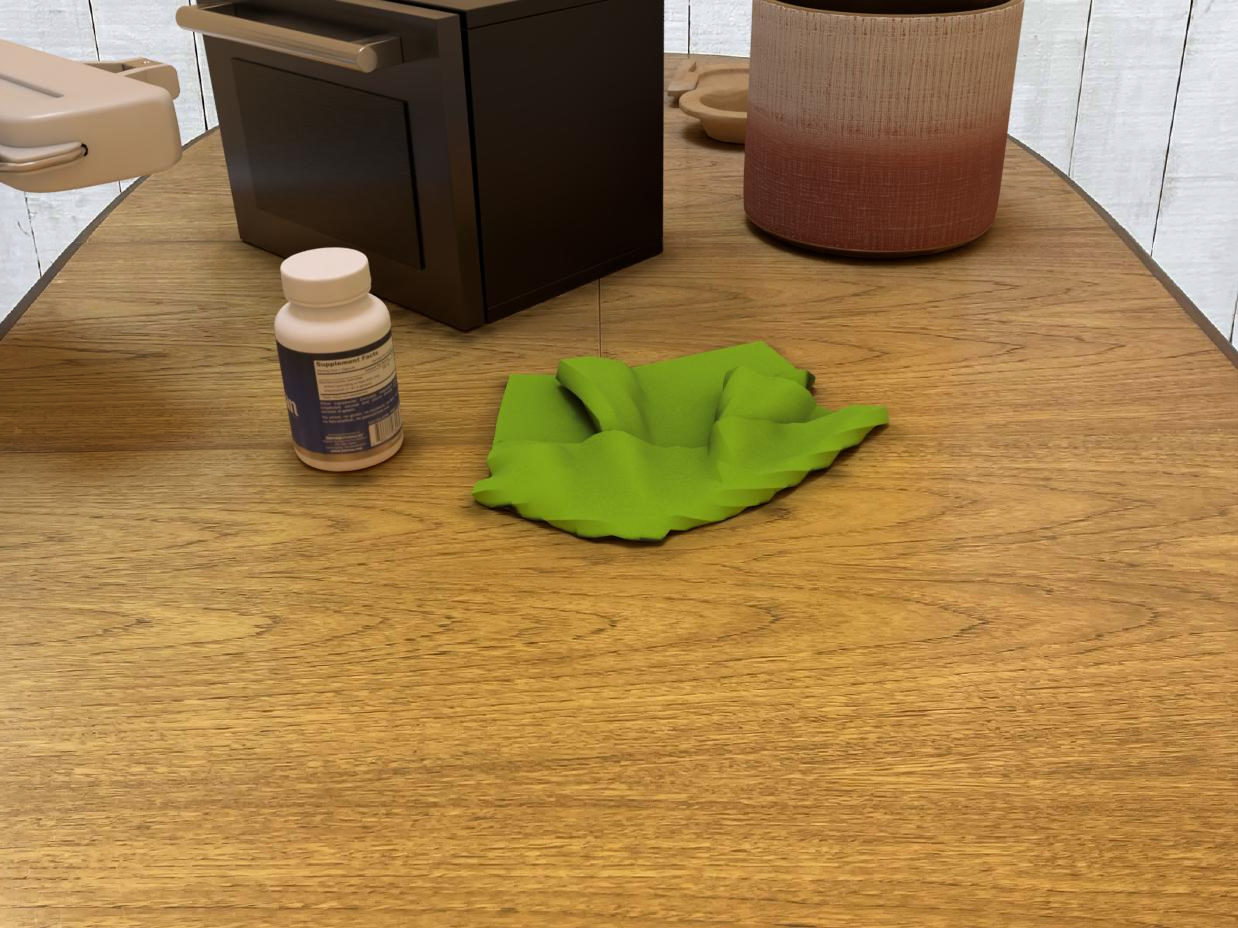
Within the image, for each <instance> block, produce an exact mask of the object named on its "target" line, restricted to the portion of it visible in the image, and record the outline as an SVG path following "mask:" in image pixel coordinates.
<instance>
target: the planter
mask: <svg viewBox="0 0 1238 928" xmlns="http://www.w3.org/2000/svg"><path fill="white" fill-rule="evenodd" d="M1025 3H1026V2H1025V0H752V2H751V22H750V25H751V26H750V27H751V28H750V46H749V47H750V48H749V49H750V50H749V63H750V66H749V85H748V104H747V121H746V138H745V144H744V161H743V181H742V182H743V183H742V184H743V187H742V191H743V193H742V197H743V198H742V199H743V200H742V201H743V210H744V213H745V215H746V216H747V218H748V219H749V220H750V221H751V222H752V223H753V225H755V226H756V227H758V229H760V230H761V231H762V232H764V233H765V234H768V235H769V236H771V237H773V238H775V239H777V240H780V241H782V242H784V243H786V244H789V245H791V246H795V247H797V248H802V249H805V250H809V251H814V252H817V253H822V254H828V255H835V256H842V257H851V258H862V259H864V258H866V259H900V258H901V259H902V258H910V257H919V256H921V257H922V256H929V255H934V254H938V253H942V252H946V251H949V250H953V249H956V248H959V247H962V246H964V245H966V244H968V243H970V242H972V241H974V240H976V239H978V238H979V237H980V236H982V235H983V234H985V233H986V232H988V230H989V229H990V228H991V227H992V226H993V224H994V222H995V219H996V215H997V210H998V207H999V200H1000V194H1001V186H1002V180H1003V171H1004V165H1005V157H1006V148H1007V140H1008V132H1009V123H1010V116H1011V107H1012V100H1013V94H1014V93H1013V92H1014V85H1015V76H1016V69H1017V61H1018V55H1019V47H1020V39H1021V31H1022V25H1023V17H1024V12H1025V11H1024V10H1025Z"/></svg>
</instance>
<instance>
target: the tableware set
mask: <svg viewBox="0 0 1238 928" xmlns="http://www.w3.org/2000/svg"><path fill="white" fill-rule="evenodd" d="M749 66H750V62H727V63H726V62H725V63H716V64H706V65H700V66H697V60H696V59H693V58H686V59H682V60H681V62H680V64H679V65H678V68H677V69H676V71H675V73H674V74H673V75H674V76H673V77H672V79H671V81H670V84H669V85H668V87H667V91H666V92H667V93H666V94H667V97H675V98H676V97H679V98H678V107H679V109H680V111H681V112H682V113H684V115H687V116H689V117H692V118H694V119H698V120H699V121H700V124H701V126H702V127H703V130H704V131H705V133H706V135H707V136H708V137H709V138H711V139H713V140H717V141H719V142H724V143H731V144H739V145H740V144H741V145H742V144H744V145H745V138H746V121H747V104H748V85H749Z"/></svg>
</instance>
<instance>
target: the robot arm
mask: <svg viewBox="0 0 1238 928" xmlns="http://www.w3.org/2000/svg"><path fill="white" fill-rule="evenodd" d="M180 93H181V87H180V82H179V76H178V70H177V69H176V67H174V66H173V65H172V64H169V63H164V62H160V61H157V60H152V59H150V58H146V57H143V56H137V57H132V58H126V59H121V60H72V59H69V58H67V57H66V58H65V57H63V56H58V55H55V54H52V53H49V52H45V51H42V50H38V49H36V48H32V47H29V46H26V45H22V44H19V43H15V42H13V41H9V40H6V39H3V38H0V183H1V184H3V185H5V186H7V187H10V188H12V189H14V190H17V191H20V192H24V193H31V194H45V193H46V194H50V193H59V192H66V191H74V190H79V189H80V190H81V189H86V188H91V187H95V186H96V187H97V186H101V185H105V184H110V183H111V184H112V183H117V182H122V181H126V180H132V179H137V178H140V177H146V176H150V175H155V174H160V173H163V172H165V171H169V169H171V168H173V167H175V166H176V165H177V164H178V163H179V162H181V160H182V158H183V153H184V151H183V145H182V139H181V133H180V125H179V121H178V116H177V111H176V108H175V103H174V100H176V99H177V98H179V97H180Z"/></svg>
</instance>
